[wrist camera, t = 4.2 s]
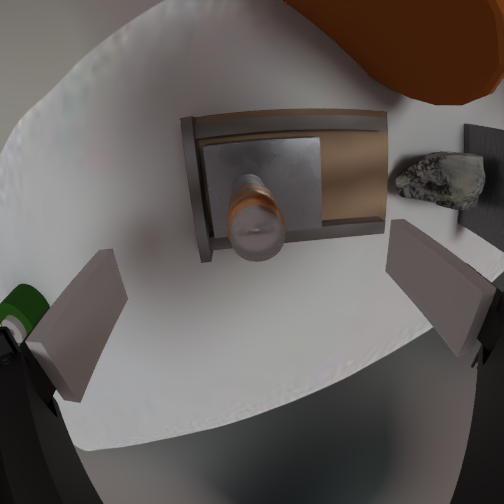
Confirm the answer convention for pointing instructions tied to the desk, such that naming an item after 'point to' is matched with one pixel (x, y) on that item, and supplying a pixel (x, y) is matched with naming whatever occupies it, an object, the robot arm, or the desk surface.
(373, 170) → the brown shallow box
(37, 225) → the desk surface
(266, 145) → the ram
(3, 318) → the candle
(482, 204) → the angle bracket
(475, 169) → the stone
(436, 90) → the alarm clock
